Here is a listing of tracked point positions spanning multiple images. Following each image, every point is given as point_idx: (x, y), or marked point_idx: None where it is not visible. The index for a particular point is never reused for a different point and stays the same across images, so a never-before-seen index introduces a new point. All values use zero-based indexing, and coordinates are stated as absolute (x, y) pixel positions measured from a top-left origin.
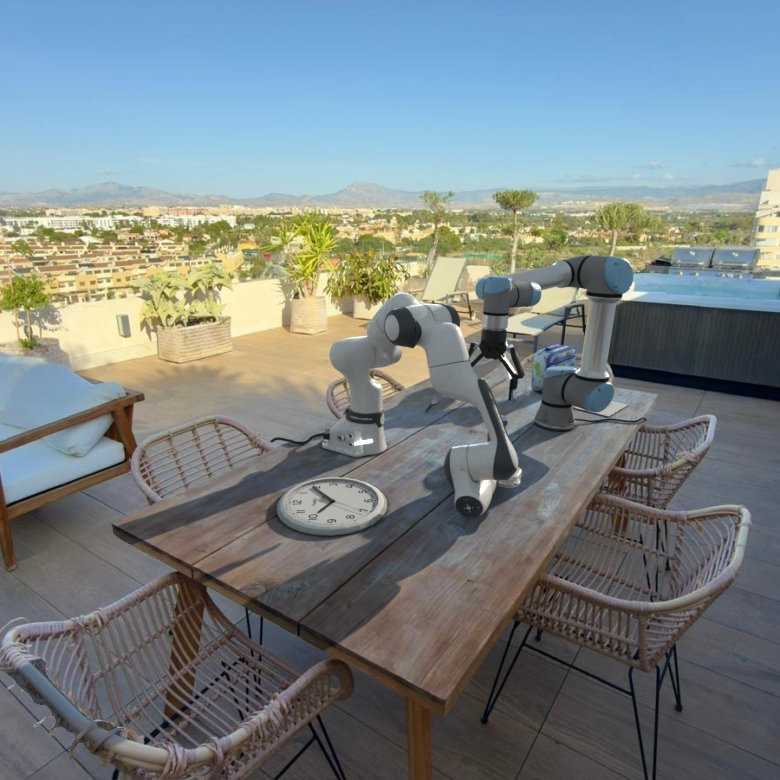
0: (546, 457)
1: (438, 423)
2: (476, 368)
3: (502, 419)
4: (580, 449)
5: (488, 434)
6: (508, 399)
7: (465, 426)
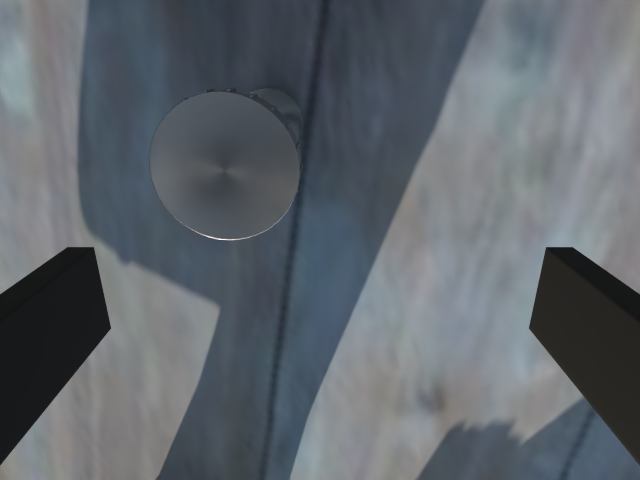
0: (129, 309)
1: (571, 414)
2: None
3: (180, 153)
4: (57, 416)
5: (282, 113)
6: (88, 250)
7: (468, 429)
